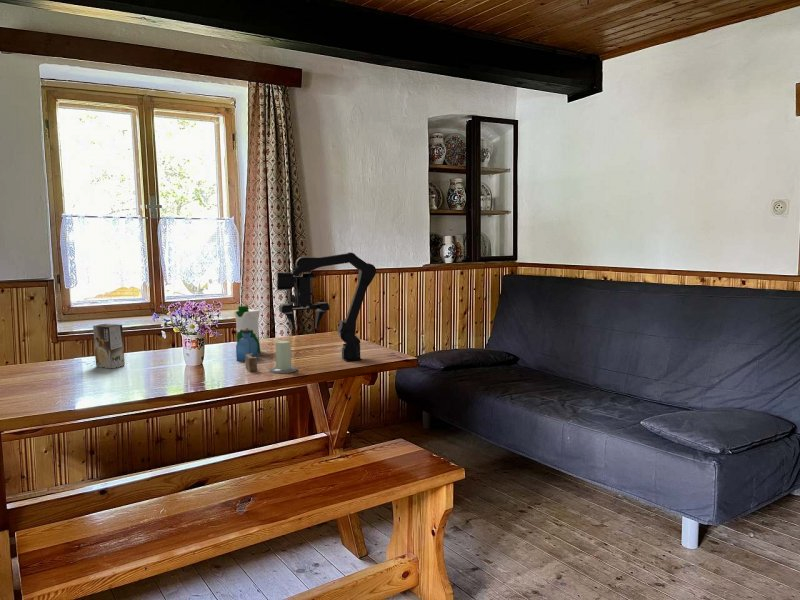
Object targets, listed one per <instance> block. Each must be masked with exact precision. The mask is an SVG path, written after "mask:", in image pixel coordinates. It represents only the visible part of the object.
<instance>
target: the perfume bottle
mask: <svg viewBox="0 0 800 600" xmlns="http://www.w3.org/2000/svg"><path fill="white" fill-rule="evenodd" d="M242 331H243V333H242V336H243V338H241V339H239V341H238V343H237V342H236V345H235V350H236V351H235V353H236V362H245V354H253V357H256V358H257V359H258V358H259V356H258V355H259V352H258V350H257V342H256V341H255V339H254V338H251V337H250V336H251V333H250V330H249V329H246V330H242Z"/></svg>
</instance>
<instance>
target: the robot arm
mask: <svg viewBox="0 0 800 600" xmlns="http://www.w3.org/2000/svg"><path fill="white" fill-rule="evenodd" d="M344 264H350V265H351V266H352V267H354V268H355V269H356V270H358V273H357V274H358V275H357V284H356V287H355V291H354V293H353V296H352V299H351V302H350V306H349V308H348V310H347V315H346V317H345V318H344V320H342V319H340V320H339V324H338V327H337V334H338V336H339V338H340V340H342V341H343V344H342V348H341V360H344V361H346V362H352V361H353V362H354V361H355V362H356V361H362V360H363V359H362V358H361V339H360V338H358V337H357V336H356V332H357V331H356V330H357V320H358V316H359V315H360V314H359V313H360V310H361V307H362V305H363V302H364V299H365V296H366V293H367V290H368V287H369V286H370V284H371V283H372V282H373V280H374V278H375V276H376V274H377V268H376V266H375V265H374V264H372V263H369V262H366V261H364V260H363V259H361V258H360V257H359V256H357V255H356V254H355V253H354V252H351V251H349V252H347V253H340V254H334V255H327V256H326V255H325V256H320V257H316V256H300V257H298V258H297V259H296V260H295V266H294V268H293V269H292V270H291V272H280V271H279V272H277V276H276V289H277V291H292V290H293V288H295V287H296V291H295V294H289V295H288V302H289V303H281V304H280V305H279V306H278V312H280V313H281V314H283V315H285V316H286V317H287V318H288V322H289V324H290V326H291V330H292V331H294V330H295V320H294V319H295V318H294V317H295V316H294V313H293V311H303V310H304V311H305V310H307V311H308V310H314V311H315V320H314V323H315V324H314V325H315V327H314V328H315V329H316V330H317V329H318V328H319V324H320V323H321V321H322V318H323V316H324V314H326V313H327V311H330V304H329V302H326V301H321V302H320V301H319V302H316V303H315V304H314V303H313V302H312V301H313V299H312V297H313V291H312V279H314V278H317V275H315V273H314V272H313V271H314V270H317V269H318V268H319V269H320V268H322V267H323V268H324V267H327V266H328V267H329V266H335V265H344ZM308 272H309V273H308ZM292 304H293V305H292Z"/></svg>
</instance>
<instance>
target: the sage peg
mask: <svg viewBox="0 0 800 600" xmlns="http://www.w3.org/2000/svg"><path fill="white" fill-rule="evenodd" d="M291 346H292V345H291V342H290V341H287V340H279V341H275V367H276V369H279V370H287V369H291V366H292V352H291V351H292V349H291Z"/></svg>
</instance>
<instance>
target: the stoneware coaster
mask: <svg viewBox="0 0 800 600" xmlns="http://www.w3.org/2000/svg"><path fill="white" fill-rule="evenodd" d="M297 371H298V367H297V366H294V365H291V369H287V370H279V369H276V366H273V367H271V368H269V372H270V373H273V374H291V373H294V372H297Z"/></svg>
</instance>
